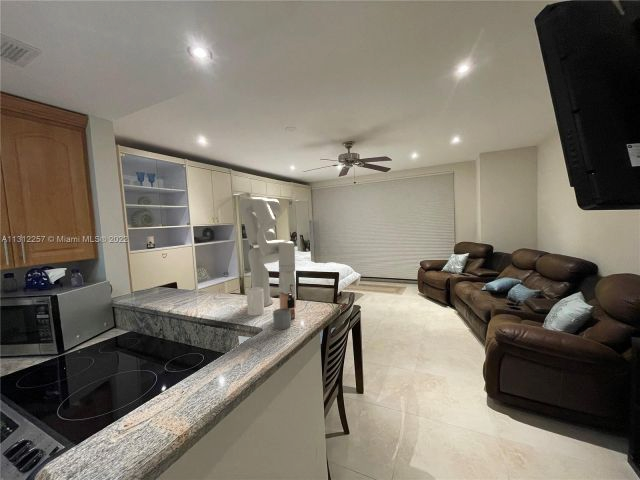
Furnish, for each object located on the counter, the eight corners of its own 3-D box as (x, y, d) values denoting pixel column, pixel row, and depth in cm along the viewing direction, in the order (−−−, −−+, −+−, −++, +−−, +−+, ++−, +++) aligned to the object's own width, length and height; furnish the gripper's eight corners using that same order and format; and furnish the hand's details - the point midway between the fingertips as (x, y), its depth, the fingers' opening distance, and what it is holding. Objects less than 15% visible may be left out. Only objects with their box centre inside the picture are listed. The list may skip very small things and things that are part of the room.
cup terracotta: (278, 306, 120) (277, 293, 119) (292, 303, 123) (291, 290, 123) (283, 311, 114) (282, 297, 113) (298, 308, 117) (297, 294, 116)
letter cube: (283, 317, 119) (283, 309, 119) (291, 315, 121) (291, 307, 121) (287, 319, 116) (286, 310, 115) (295, 317, 118) (294, 309, 118)
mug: (259, 318, 119) (257, 293, 118) (241, 318, 120) (240, 293, 119) (267, 309, 131) (266, 286, 130) (251, 309, 132) (250, 287, 131)
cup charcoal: (271, 324, 111) (271, 310, 110) (287, 321, 114) (286, 307, 114) (277, 330, 104) (276, 315, 104) (293, 326, 108) (292, 312, 107)
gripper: (273, 265, 123) (274, 301, 124) (285, 272, 107) (287, 312, 109) (287, 264, 126) (288, 298, 128) (302, 270, 111) (302, 309, 113)
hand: (287, 304), depth 118 cm, fingers closed on cup terracotta, 7 cm apart
